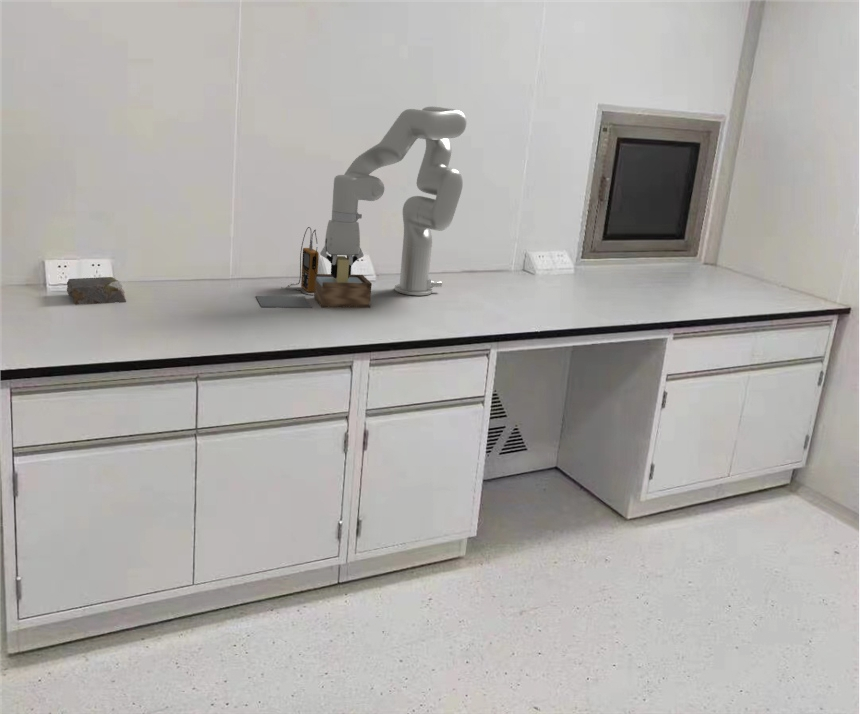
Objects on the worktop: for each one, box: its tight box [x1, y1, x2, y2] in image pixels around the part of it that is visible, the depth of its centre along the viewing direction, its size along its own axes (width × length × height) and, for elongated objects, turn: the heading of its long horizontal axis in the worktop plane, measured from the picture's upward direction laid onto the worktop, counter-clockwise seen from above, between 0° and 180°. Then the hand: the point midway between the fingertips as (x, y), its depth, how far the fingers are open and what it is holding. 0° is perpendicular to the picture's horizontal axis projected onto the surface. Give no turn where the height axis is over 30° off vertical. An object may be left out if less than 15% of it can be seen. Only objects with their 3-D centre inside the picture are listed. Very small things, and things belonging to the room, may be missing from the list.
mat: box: [255, 295, 313, 309], centre depth 260 cm, size 15×12×1 cm
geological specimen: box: [66, 276, 127, 306], centre depth 244 cm, size 11×6×15 cm
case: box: [313, 273, 373, 309], centre depth 265 cm, size 15×11×8 cm
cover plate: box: [316, 255, 363, 286], centre depth 263 cm, size 13×9×8 cm
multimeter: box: [280, 226, 320, 296], centre depth 273 cm, size 15×10×20 cm
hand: (340, 276), depth 263 cm, fingers closed on cover plate, 3 cm apart
